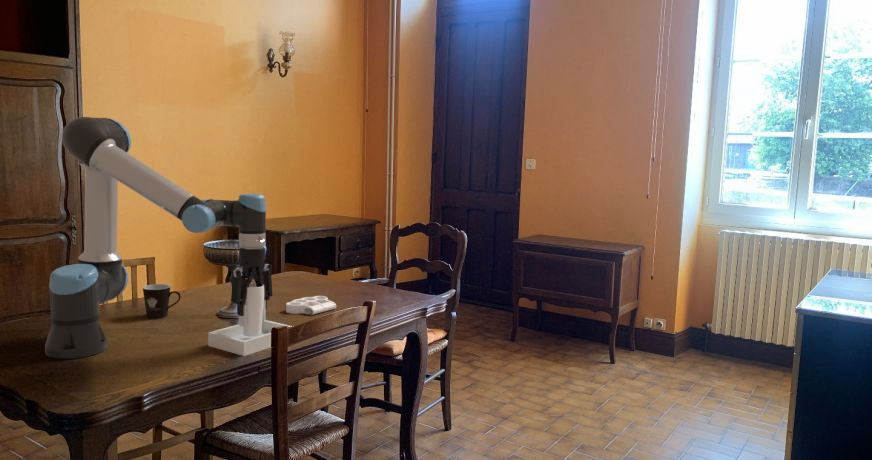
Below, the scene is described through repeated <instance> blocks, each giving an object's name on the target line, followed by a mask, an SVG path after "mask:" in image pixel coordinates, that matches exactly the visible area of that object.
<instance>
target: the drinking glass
mask: <svg viewBox="0 0 872 460" xmlns="http://www.w3.org/2000/svg"><path fill="white" fill-rule="evenodd" d="M245 305H247V327H243V334H244V335H245V336H249V337H254V336H259V335H260V334H261V333H262V317H263V307H264V285H263V284H262V286H261V287H256V283H255V282H251V283H250V285H249V287H248V288H247V297H246V301H245Z"/></svg>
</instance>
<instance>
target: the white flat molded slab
mask: <svg viewBox="0 0 872 460" xmlns="http://www.w3.org/2000/svg"><path fill="white" fill-rule="evenodd" d="M336 308H337V304H336V302H334V301H332V300H329V298H328V297H327V296H325V295H315V296H305V297H301V298H298V299H297V298H296V299H293V300H292V301H289V302H286V304H285V312H286V313H288V314H293V315H297V314H298V315H299V314H306V315H308V314H309V313H312V314H311V315H310V316H314V315H315V314H320V313H324V312H328V311H332V310H335V309H336Z"/></svg>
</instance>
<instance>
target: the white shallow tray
mask: <svg viewBox="0 0 872 460" xmlns="http://www.w3.org/2000/svg"><path fill="white" fill-rule="evenodd" d="M281 326H288V327H292V325H289V324H284V323H282V322H281V323H279V322H275V321H271V320H268V319H266V321H265V322H262V333H261V334H260V335H259V336H254V337H249V336H245V335H244V334H243V326H239V323H238V324H234V325H231V326H227V327H223V328H220V329H216V330H213V331H210V332H209V331H208V333H207V335H208V336H207V343H208V344H207V345H208V347H210V348H215V349H218V350H222V351H225V352H229V353H232V354H235V355H239V356H242V357H246V356H249V355H252V354H255V353H257V352H261V351H264V350H268V349H271V348H272V347H271V329H272V328H273V327H281Z"/></svg>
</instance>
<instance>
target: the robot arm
mask: <svg viewBox="0 0 872 460" xmlns="http://www.w3.org/2000/svg"><path fill="white" fill-rule="evenodd" d="M61 140H62V145H63V147H64V149H65V150H66V152H67V153H68V154H70V156H72V157H73V158H74V159H76V160H77V161H79V162H78V164H79V165H80V166H81V167H82V169H83V170H84V230H83V231H84V237H83V239H84V241H83V243H84V244H83V247H84V248H83V249H84V250H83V252H82V253H81V254H80V255H79V256H78V258H77V260H78V261H77V263H75V264H69V265H64V266H60V267H58V268H56V269H54V270H53V271H52V272H51V273H50V275H49V284H48V288H49V299H50V300H49V301H50V302H49V304H50V318H51V319H50V320H51V323H50V324H51V326H50V330H49V332H48V336H47V338H46V341H45V345H44V354H45V355H46V356H47V357H49V358H52V359H64V360H65V359H79V358H85V357H90V356H94V355H96V354H100V353H102V352H104V351H105V350H106V349H107V338H106V336H105V335H106V334H104V331H103V329H102V326H101V323H100V314H99V311H100V310H99V305H101V304H103V303H105V302H108V301H109V302H110V301H113V300H114V299H115V298H117V297H118V296H119V295H121V294H122V293H123V292H124V291H125V290H126V288H127V286H128V283H129V272H128V270H127V268H126V267H125V266H124V264H123V256H122V255H121V254H119V253H118V251H117V247H118V246H117V245H118V244H117V243H118V236H117V235H118V196H119V194H118V192H119V190H118V189H119V187H118V185H119V182H120V183H121V184H122V185H124V186H126V187H128V188H129V189H130V190H132V191H134V192H135V193H137V194H138V195H140V196H141V197H142V198H145V199H147V200H148V201H149V202H151V203H152V204H154V205H156V206H157V207H159V208H160V209H162V210H164V211H165V212H167V213H168V214H170V215H172V216H173V217H174V218H176V219H178V220H180V221H181V223H182V225H183V227H184V229H186V231H188V232H190V233H192V234H193V233H194V234H199V233H206V232H209V231H210V230H213V229H215V228H218V227H238V245H239V249H238V259H239V261H240V265H239V267H238V268H237V269H232V270H231V276H232V283H231V284H232V285H231V297H230V303H231V304H234V305H236V314H237V316H238V324H239V326H243V327H247V305H245V301H246V297H247V288H248V287H249V285H250V283H253V282H252V281H253V280H254V283H256V287H261V286H262V284H263V285H264V307H263V317H262V322H265V321H266V320H267V319H266V318H267V317H266V316H267V313H266V310H267V309H268V303H267V302H268V301H270V299H271V297H272V296H273V282H272V269H273V265H272V264H271V263H270V264H269V263H265V260H266V258H267V257H266V253H267V252H266V248H265V246H266V244H267V243H266V239H267V238H266V233H267V232H266V231H267V230H266V225H267V222H266V221H267V220H266V219H267V217H266V215H267V209H266V206H267V205H266V198H265V195H263V194H259V193H242V194H241V193H240V195H239V197H238V199H237V200H229V199H228V200H227V199H226V200H225V199H213V198H209V199H208V198H207V199H200V198H198V197H197V196H195V195H194V194H193V193H190V192H189V191H188V190H186V189H184V188H183V187H181V186H179V185H178V184H177V183H175V182H174V181H172V180H170V179H168V177H165V176H164V175H162V174H161V173H159V172H157V171H156V170H155V169H153V168H151V167H150V166H149V165H147V164H145V163H144V162H142V161H140V160H139V159H137V158H136V157H134V156H133V155H131V154H129V153H128V152H129V151H130V149H131V146H132V138H131V134H130V132H129V130H128V129H127V127H125V125H123V123H121V122H120V121H119V120H115V119H112V118H108V117H92V116H91V117H90V116H80V117H76V118H74V119H72V120H70V121H68V123H67V124H66V125H65V126H64V127H63V129H62V133H61Z"/></svg>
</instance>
